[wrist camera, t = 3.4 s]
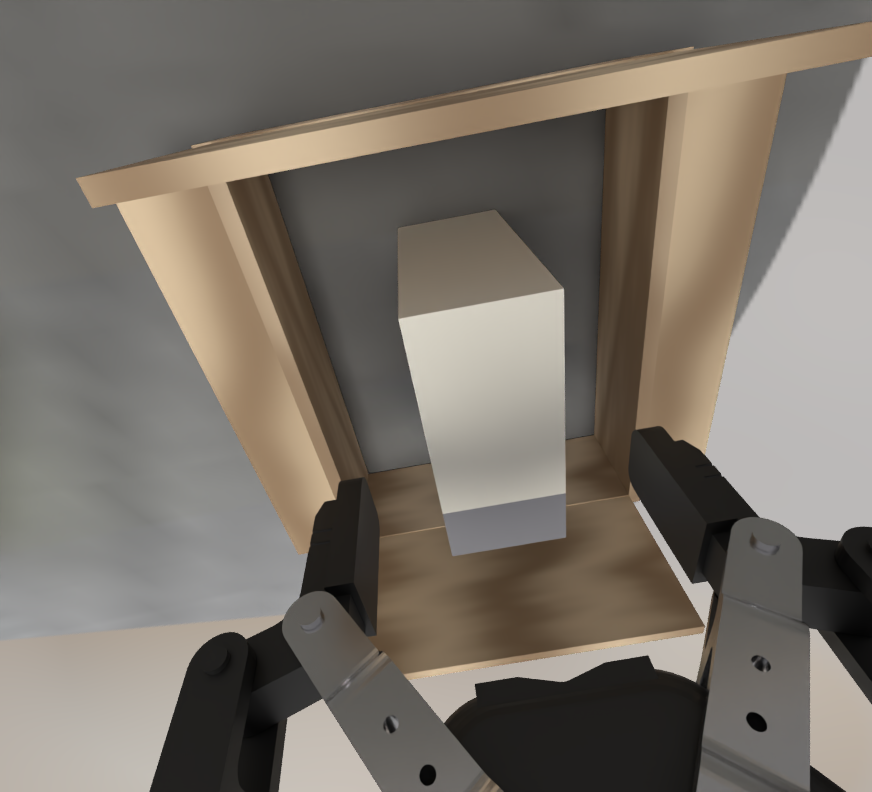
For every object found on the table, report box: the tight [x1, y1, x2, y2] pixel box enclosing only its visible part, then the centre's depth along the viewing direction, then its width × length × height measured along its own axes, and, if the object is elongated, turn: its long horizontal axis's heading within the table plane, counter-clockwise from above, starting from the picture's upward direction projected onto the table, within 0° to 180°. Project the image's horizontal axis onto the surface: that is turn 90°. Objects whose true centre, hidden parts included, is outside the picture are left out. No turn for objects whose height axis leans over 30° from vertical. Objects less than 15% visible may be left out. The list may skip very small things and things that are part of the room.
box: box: [398, 210, 566, 556], centre depth 19 cm, size 4×10×10 cm, turn 9°
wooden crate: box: [76, 21, 872, 680], centre depth 18 cm, size 21×19×12 cm
